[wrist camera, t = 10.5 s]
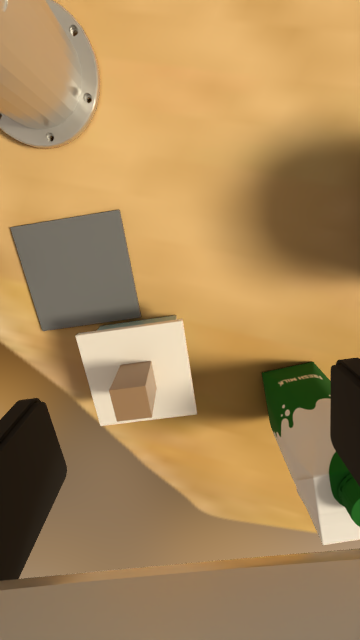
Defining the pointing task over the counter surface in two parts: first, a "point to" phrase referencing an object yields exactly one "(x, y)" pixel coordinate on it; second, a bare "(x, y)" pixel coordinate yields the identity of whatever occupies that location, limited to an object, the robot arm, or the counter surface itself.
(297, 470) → the milk carton
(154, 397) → the lid
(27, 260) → the mat
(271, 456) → the counter surface
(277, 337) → the counter surface
